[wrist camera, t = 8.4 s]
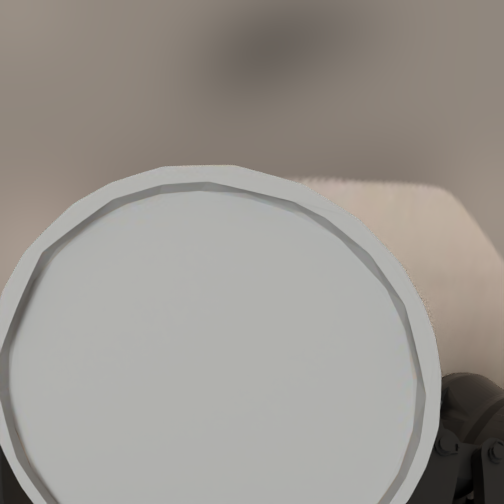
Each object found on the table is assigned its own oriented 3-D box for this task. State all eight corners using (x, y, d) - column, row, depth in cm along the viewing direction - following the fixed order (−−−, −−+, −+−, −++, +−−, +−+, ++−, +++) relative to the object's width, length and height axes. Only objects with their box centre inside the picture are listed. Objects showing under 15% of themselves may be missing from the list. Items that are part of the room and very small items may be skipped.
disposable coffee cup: (247, 244, 18) (261, 76, 6) (348, 382, 16) (514, 421, 4) (107, 338, 16) (-67, 310, 4) (206, 477, 14) (164, 635, 2)
